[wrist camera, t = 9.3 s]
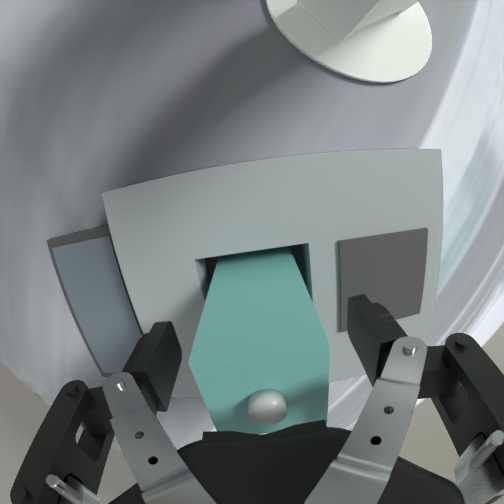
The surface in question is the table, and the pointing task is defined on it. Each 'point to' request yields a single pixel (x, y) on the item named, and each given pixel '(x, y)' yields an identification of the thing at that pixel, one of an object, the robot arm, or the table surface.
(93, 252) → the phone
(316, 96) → the table surface
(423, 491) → the robot arm
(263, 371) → the teal knobbed block
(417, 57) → the white curved stand
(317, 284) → the plate
